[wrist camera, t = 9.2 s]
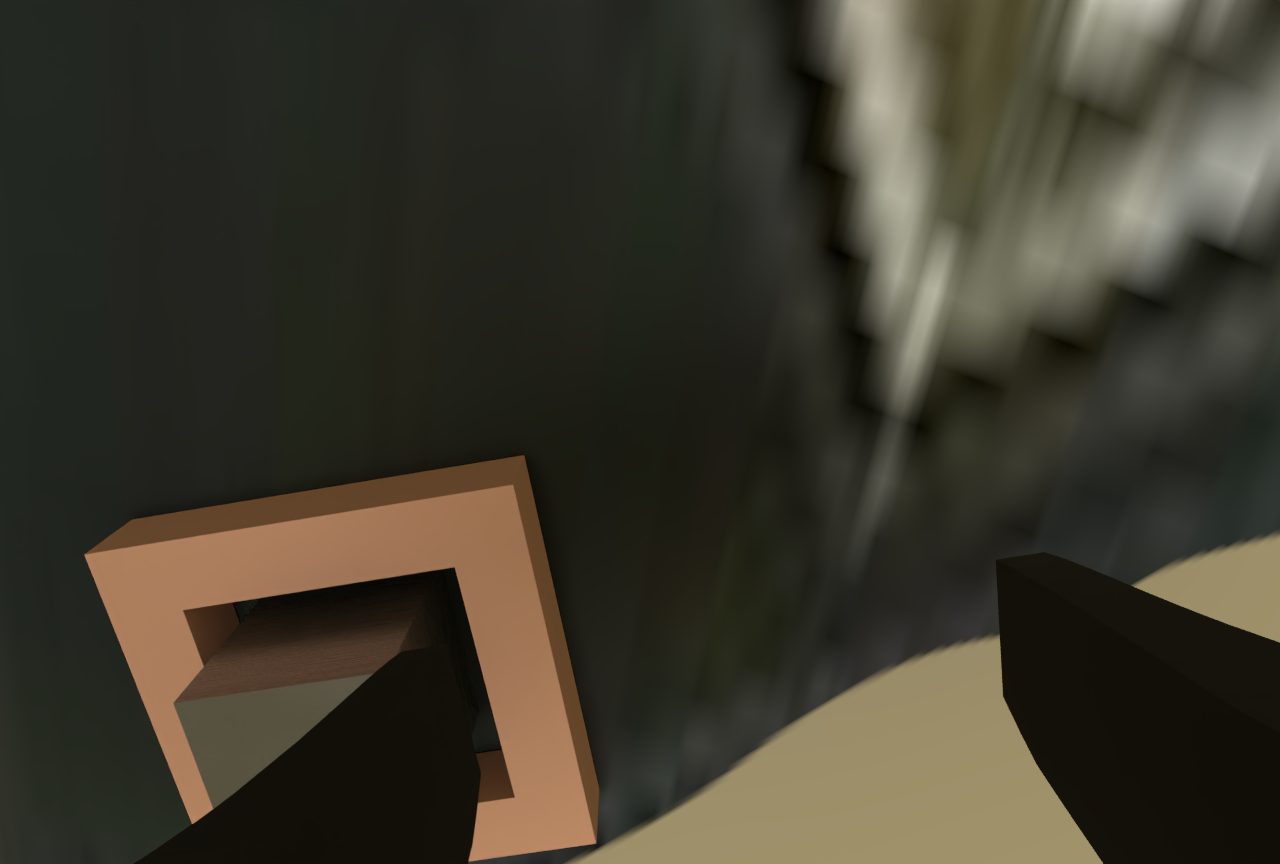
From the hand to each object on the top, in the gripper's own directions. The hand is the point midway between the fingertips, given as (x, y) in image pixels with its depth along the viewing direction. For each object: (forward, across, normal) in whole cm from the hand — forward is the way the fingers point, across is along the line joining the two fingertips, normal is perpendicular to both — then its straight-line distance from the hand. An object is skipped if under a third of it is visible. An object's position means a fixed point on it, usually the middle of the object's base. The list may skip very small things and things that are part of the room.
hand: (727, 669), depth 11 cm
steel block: (+10, +9, +5) cm, 15 cm away
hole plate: (+10, +9, +5) cm, 15 cm away
